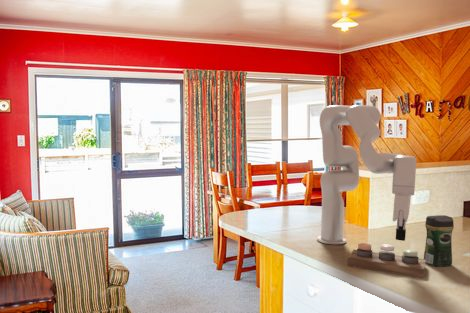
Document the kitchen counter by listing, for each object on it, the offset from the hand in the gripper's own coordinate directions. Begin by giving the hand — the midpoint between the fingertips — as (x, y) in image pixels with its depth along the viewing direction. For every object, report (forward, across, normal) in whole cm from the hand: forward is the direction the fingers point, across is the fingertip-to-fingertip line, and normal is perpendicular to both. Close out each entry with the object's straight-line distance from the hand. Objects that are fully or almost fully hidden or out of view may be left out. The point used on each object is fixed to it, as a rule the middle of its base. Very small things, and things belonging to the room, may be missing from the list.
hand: (400, 239), depth 161 cm
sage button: (+5, 0, +4) cm, 6 cm away
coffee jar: (+11, -13, +13) cm, 21 cm away
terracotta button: (+5, 0, -12) cm, 13 cm away
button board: (+11, 0, -4) cm, 12 cm away
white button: (+4, 0, -4) cm, 6 cm away
